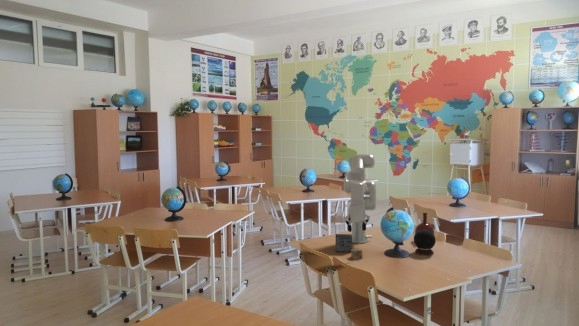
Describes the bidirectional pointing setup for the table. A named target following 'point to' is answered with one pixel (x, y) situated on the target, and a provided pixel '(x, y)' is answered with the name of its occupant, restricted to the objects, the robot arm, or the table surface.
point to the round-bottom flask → (424, 225)
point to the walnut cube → (356, 253)
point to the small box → (343, 242)
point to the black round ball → (424, 242)
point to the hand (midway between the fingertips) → (356, 230)
